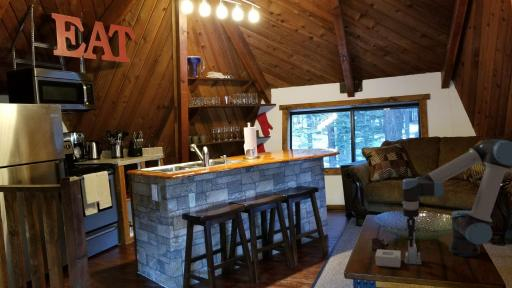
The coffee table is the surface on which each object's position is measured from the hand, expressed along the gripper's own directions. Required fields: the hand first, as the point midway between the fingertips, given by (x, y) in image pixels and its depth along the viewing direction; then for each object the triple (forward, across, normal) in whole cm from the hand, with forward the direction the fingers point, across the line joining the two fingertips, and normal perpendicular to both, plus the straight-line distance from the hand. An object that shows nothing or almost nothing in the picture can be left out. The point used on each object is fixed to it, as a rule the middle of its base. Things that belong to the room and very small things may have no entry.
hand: (411, 248), depth 209 cm
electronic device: (+9, -15, -17) cm, 24 cm away
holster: (+8, 0, 0) cm, 8 cm away
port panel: (+8, +4, -12) cm, 15 cm away
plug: (+7, 0, 0) cm, 7 cm away
